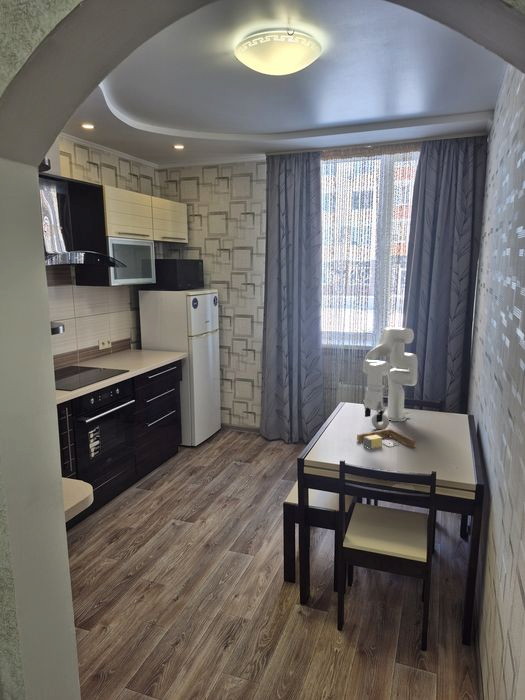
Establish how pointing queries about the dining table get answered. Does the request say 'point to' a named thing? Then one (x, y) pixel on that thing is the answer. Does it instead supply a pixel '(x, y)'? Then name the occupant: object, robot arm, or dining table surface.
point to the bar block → (372, 441)
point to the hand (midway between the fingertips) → (373, 419)
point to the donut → (384, 424)
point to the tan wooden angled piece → (391, 433)
